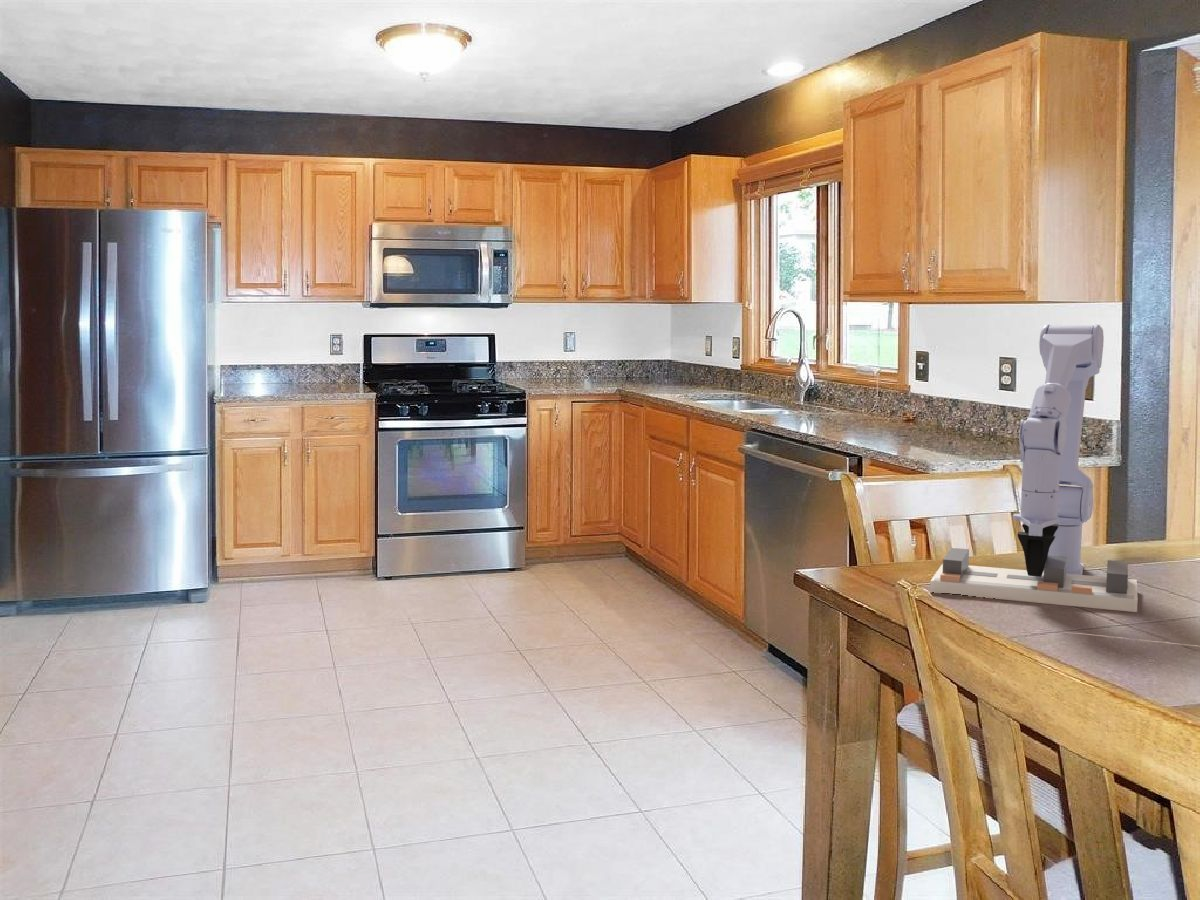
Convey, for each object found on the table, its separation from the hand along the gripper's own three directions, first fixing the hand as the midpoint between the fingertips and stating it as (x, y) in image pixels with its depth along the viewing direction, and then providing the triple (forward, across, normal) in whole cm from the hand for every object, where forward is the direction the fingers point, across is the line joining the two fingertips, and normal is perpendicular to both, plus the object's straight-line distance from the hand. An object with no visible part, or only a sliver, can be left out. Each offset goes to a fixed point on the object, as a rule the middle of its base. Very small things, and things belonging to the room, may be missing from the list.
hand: (1036, 570), depth 185 cm
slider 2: (+1, 0, +12) cm, 12 cm away
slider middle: (+1, 0, +3) cm, 3 cm away
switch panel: (+3, +1, 0) cm, 4 cm away
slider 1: (+1, 0, -13) cm, 13 cm away
